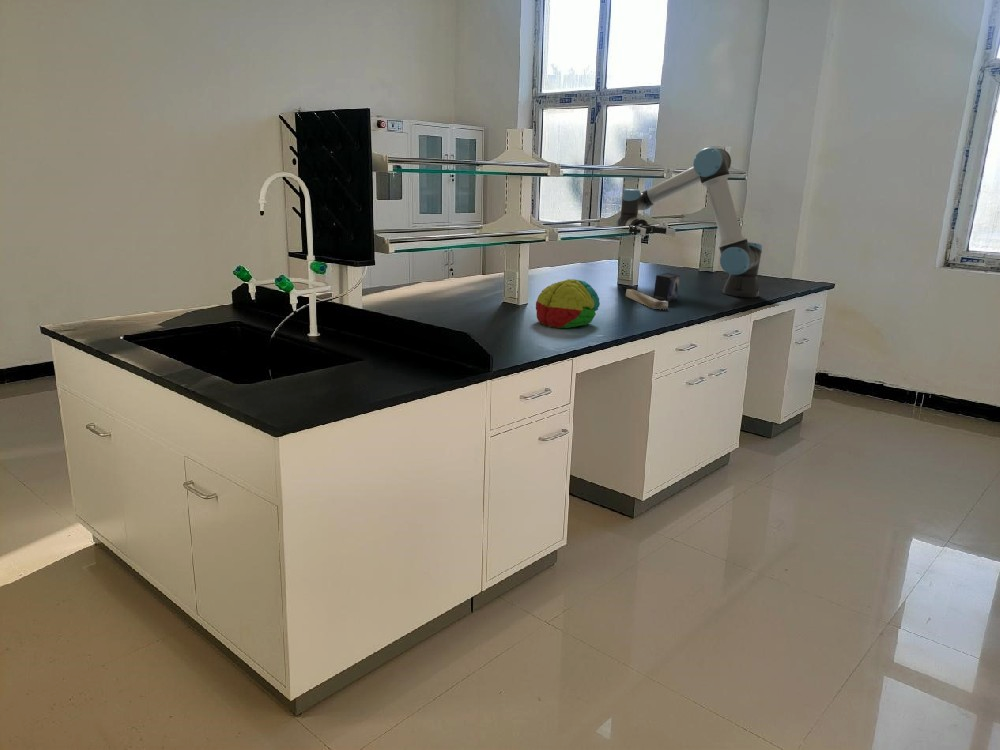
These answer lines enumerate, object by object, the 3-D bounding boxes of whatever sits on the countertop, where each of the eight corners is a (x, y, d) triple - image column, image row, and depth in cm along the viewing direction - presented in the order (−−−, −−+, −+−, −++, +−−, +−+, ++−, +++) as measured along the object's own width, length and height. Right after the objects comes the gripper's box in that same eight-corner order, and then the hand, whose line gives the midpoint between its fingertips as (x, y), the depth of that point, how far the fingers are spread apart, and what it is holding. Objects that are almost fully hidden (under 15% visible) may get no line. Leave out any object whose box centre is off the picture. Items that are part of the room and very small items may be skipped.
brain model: (568, 312, 259) (571, 271, 254) (611, 323, 246) (614, 280, 241) (523, 323, 243) (524, 279, 238) (565, 335, 230) (568, 289, 225)
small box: (666, 302, 291) (670, 277, 287) (652, 300, 294) (655, 274, 291) (677, 299, 299) (681, 274, 296) (663, 297, 302) (666, 272, 299)
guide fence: (637, 296, 300) (638, 289, 300) (667, 309, 277) (668, 302, 276) (625, 296, 299) (626, 289, 298) (654, 309, 275) (655, 302, 274)
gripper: (661, 236, 324) (685, 242, 304) (610, 234, 317) (631, 241, 297) (663, 219, 321) (687, 224, 302) (612, 217, 315) (633, 222, 295)
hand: (659, 232), depth 300 cm, fingers open, 13 cm apart
